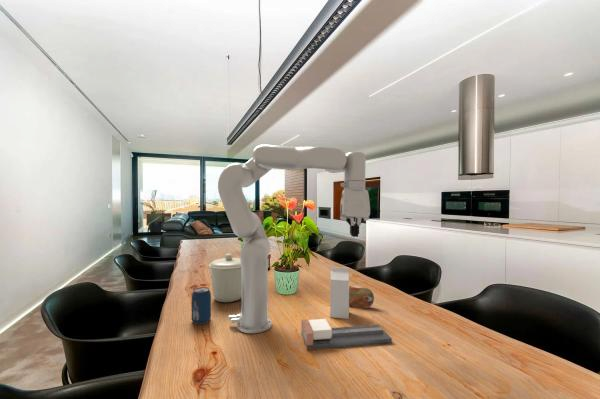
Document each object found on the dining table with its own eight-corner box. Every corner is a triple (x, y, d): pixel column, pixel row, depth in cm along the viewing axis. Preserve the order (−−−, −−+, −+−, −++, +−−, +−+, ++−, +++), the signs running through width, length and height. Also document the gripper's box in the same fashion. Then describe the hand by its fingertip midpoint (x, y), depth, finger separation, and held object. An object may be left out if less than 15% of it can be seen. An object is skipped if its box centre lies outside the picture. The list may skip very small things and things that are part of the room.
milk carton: (348, 319, 108) (348, 270, 108) (330, 317, 109) (330, 269, 109) (348, 312, 115) (349, 266, 115) (331, 310, 116) (332, 265, 116)
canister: (244, 290, 141) (245, 249, 141) (251, 303, 124) (251, 255, 124) (207, 294, 135) (207, 251, 135) (209, 308, 118) (209, 258, 118)
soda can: (211, 316, 110) (211, 286, 110) (210, 324, 103) (210, 291, 103) (192, 318, 108) (193, 287, 108) (190, 326, 101) (190, 293, 101)
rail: (306, 350, 86) (306, 333, 86) (301, 334, 96) (301, 319, 96) (391, 343, 90) (391, 327, 90) (378, 328, 100) (378, 315, 100)
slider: (313, 342, 87) (313, 330, 87) (308, 330, 95) (308, 319, 95) (331, 340, 88) (331, 329, 88) (325, 328, 96) (325, 318, 96)
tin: (338, 304, 123) (338, 285, 123) (340, 302, 126) (340, 283, 126) (373, 309, 117) (373, 290, 117) (374, 307, 120) (374, 287, 120)
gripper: (338, 185, 97) (337, 238, 97) (378, 186, 99) (378, 237, 99) (332, 186, 104) (331, 235, 104) (369, 186, 107) (369, 234, 107)
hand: (354, 236), depth 102 cm, fingers closed
